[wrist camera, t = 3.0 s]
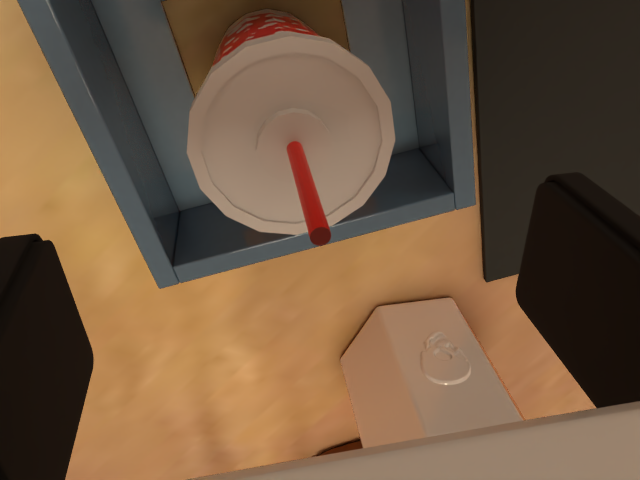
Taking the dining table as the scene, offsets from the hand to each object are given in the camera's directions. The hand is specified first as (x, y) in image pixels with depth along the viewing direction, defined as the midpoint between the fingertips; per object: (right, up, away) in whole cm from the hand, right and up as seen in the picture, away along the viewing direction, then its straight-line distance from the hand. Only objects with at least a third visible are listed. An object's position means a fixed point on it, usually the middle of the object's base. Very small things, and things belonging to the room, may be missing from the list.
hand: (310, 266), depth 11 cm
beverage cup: (-2, +8, +13) cm, 15 cm away
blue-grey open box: (-2, +8, +13) cm, 15 cm away
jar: (+6, -6, +23) cm, 25 cm away
